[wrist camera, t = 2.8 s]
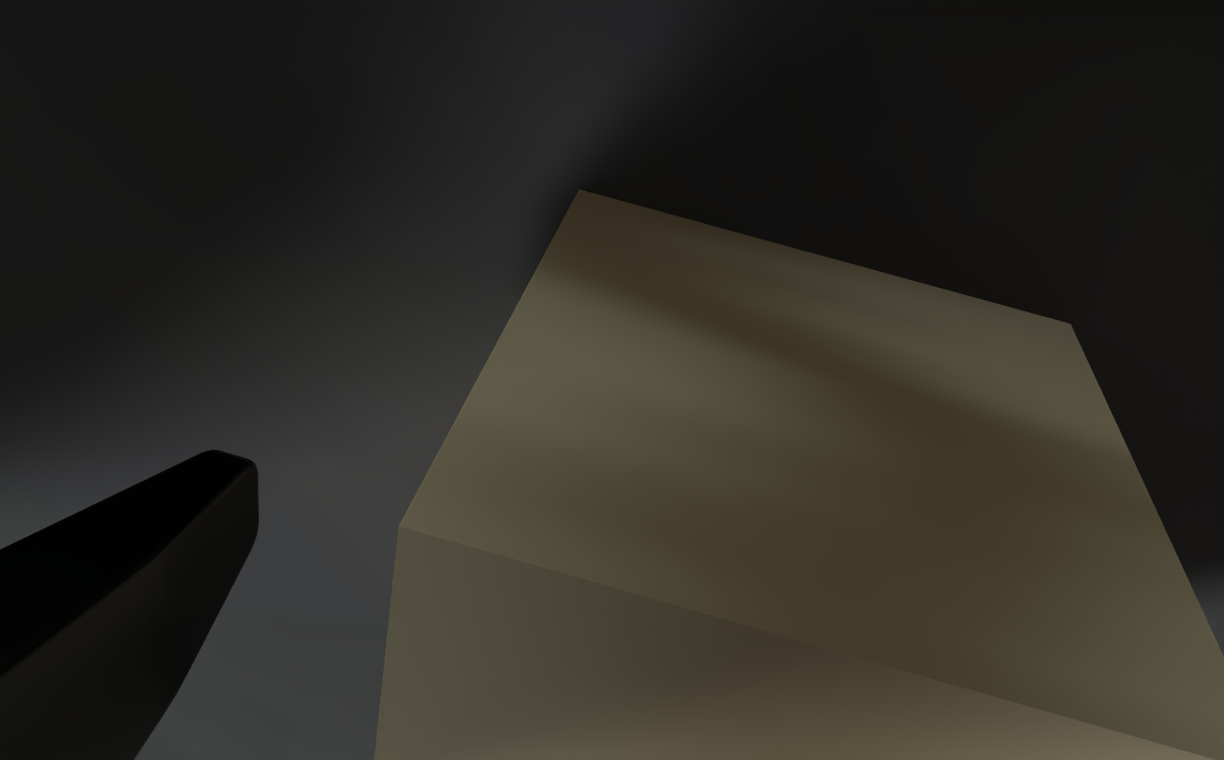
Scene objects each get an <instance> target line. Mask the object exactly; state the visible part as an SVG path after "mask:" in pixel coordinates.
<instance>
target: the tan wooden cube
mask: <svg viewBox="0 0 1224 760" xmlns="http://www.w3.org/2000/svg"><path fill="white" fill-rule="evenodd" d="M374 760H1224V656H1223V654H1222V652H1221V650H1220V648H1219V645H1218V643H1217V641H1216V639H1215V637H1214V635H1213V632H1212V630H1211V628H1210V626H1209V624H1208V622H1207V619H1206V617H1205V615H1204V613H1203V611H1202V608H1201V606H1200V604H1199V602H1198V600H1197V598H1196V595H1195V593H1194V591H1193V589H1192V587H1191V585H1190V582H1189V580H1188V578H1187V576H1186V574H1185V572H1184V569H1183V567H1182V565H1181V563H1180V561H1179V558H1178V556H1177V554H1176V552H1175V550H1174V548H1173V545H1172V543H1171V541H1170V539H1169V537H1168V535H1167V532H1166V530H1165V528H1164V526H1163V524H1162V522H1161V519H1160V517H1159V515H1158V513H1157V511H1156V508H1155V506H1154V504H1153V502H1152V500H1151V498H1150V495H1149V493H1148V491H1147V489H1146V487H1145V485H1144V482H1143V480H1142V478H1141V476H1140V474H1139V472H1138V469H1137V467H1136V465H1135V463H1134V461H1133V459H1132V456H1131V454H1130V452H1129V450H1128V448H1127V445H1126V443H1125V441H1124V439H1123V437H1122V435H1121V432H1120V430H1119V428H1118V426H1117V424H1116V422H1115V419H1114V417H1113V415H1112V413H1111V411H1110V409H1109V406H1108V404H1107V402H1106V400H1105V398H1104V395H1103V393H1102V391H1101V389H1100V387H1099V385H1098V382H1097V380H1096V378H1095V376H1094V374H1093V372H1092V369H1091V367H1090V365H1089V363H1088V361H1087V359H1086V356H1085V354H1084V352H1083V350H1082V348H1081V345H1080V343H1079V341H1078V339H1077V337H1076V335H1075V332H1074V330H1073V328H1072V326H1071V324H1069V323H1066V322H1062V321H1058V320H1055V319H1051V318H1047V317H1044V316H1040V315H1036V314H1033V313H1029V312H1025V311H1022V310H1018V309H1014V308H1011V307H1007V306H1004V305H1000V304H996V303H993V302H989V301H985V300H982V299H978V298H974V297H971V296H967V295H963V294H960V293H956V292H952V291H949V290H945V289H941V288H938V287H934V286H930V285H927V284H923V283H920V282H916V281H912V280H909V279H905V278H901V277H898V276H894V275H890V274H887V273H883V272H879V271H876V270H872V269H868V268H865V267H861V266H857V265H854V264H850V263H847V262H843V261H839V260H836V259H832V258H828V257H825V256H821V255H817V254H814V253H810V252H806V251H803V250H799V249H795V248H792V247H788V246H784V245H781V244H777V243H773V242H770V241H766V240H763V239H759V238H755V237H752V236H748V235H744V234H741V233H737V232H733V231H730V230H726V229H722V228H719V227H715V226H711V225H708V224H704V223H700V222H697V221H693V220H690V219H686V218H682V217H679V216H675V215H671V214H668V213H664V212H660V211H657V210H653V209H649V208H646V207H642V206H638V205H635V204H631V203H627V202H624V201H620V200H616V199H613V198H609V197H606V196H602V195H598V194H595V193H591V192H587V191H584V190H580V189H579V190H578V192H577V194H576V196H575V198H574V200H573V202H572V203H571V205H570V207H569V209H568V211H567V213H566V215H565V217H564V218H563V220H562V222H561V224H560V226H559V228H558V230H557V231H556V233H555V235H554V237H553V239H552V241H551V243H550V245H549V246H548V248H547V250H546V252H545V254H544V256H543V258H542V259H541V261H540V263H539V265H538V267H537V269H536V271H535V272H534V274H533V276H532V278H531V280H530V282H529V284H528V286H527V287H526V289H525V291H524V293H523V295H522V297H521V299H520V300H519V302H518V304H517V306H516V308H515V310H514V312H513V314H512V315H511V317H510V319H509V321H508V323H507V325H506V327H505V328H504V330H503V332H502V334H501V336H500V338H499V340H498V342H497V343H496V345H495V347H494V349H493V351H492V353H491V355H490V356H489V358H488V360H487V362H486V364H485V366H484V368H483V370H482V371H481V373H480V375H479V377H478V379H477V381H476V383H475V384H474V386H473V388H472V390H471V392H470V394H469V396H468V398H467V399H466V401H465V403H464V405H463V407H462V409H461V411H460V412H459V414H458V416H457V418H456V420H455V422H454V424H453V426H452V427H451V429H450V431H449V433H448V435H447V437H446V439H445V440H444V442H443V444H442V446H441V448H440V450H439V452H438V454H437V455H436V457H435V459H434V461H433V463H432V465H431V467H430V468H429V470H428V472H427V474H426V476H425V478H424V480H423V482H422V483H421V485H420V487H419V489H418V491H417V493H416V495H415V496H414V498H413V500H412V502H411V504H410V506H409V508H408V509H407V511H406V513H405V515H404V517H403V519H402V521H401V523H400V524H399V527H398V537H397V546H396V556H395V565H394V575H393V585H392V594H391V604H390V613H389V623H388V633H387V642H386V652H385V661H384V671H383V681H382V690H381V700H380V709H379V719H378V729H377V738H376V748H375V757H374Z"/></svg>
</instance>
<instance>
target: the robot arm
mask: <svg viewBox="0 0 1224 760" xmlns="http://www.w3.org/2000/svg"><path fill="white" fill-rule="evenodd" d="M258 526H259V502H258V471H257V467H256V465H255V463H254V462H253V461H251V460H250V459H247V458H244V457H240V456H237V455H233V454H230V453H226V452H223V451H219V450H209V451H205V452H202V453H200V454H198V455H196V456H194V457H192V458H189V459H187V460H185V461H183V462H181V463H179V464H177V465H175V466H173V467H171V468H169V469H167V470H165V471H162V472H160V473H158V474H156V475H154V476H152V477H150V478H148V479H146V480H144V481H142V482H140V483H137V484H135V485H133V486H131V487H129V488H127V489H125V490H123V491H121V492H119V493H117V494H115V495H113V496H110V497H108V498H106V499H104V500H102V501H100V502H98V503H96V504H94V505H92V506H90V507H88V508H85V509H83V510H81V511H79V512H77V513H75V514H73V515H71V516H69V517H67V518H65V519H63V520H61V521H58V522H56V523H54V524H52V525H50V526H48V527H46V528H44V529H42V530H40V531H38V532H36V533H33V534H31V535H29V536H27V537H25V538H23V539H21V540H19V541H17V542H15V543H13V544H11V545H9V546H6V547H4V548H2V549H0V760H134V759H135V757H136V756H137V754H138V753H139V751H140V750H141V748H142V747H143V745H144V744H145V742H146V741H147V739H148V738H149V736H150V735H151V733H152V732H153V730H154V729H155V727H156V726H157V724H158V723H159V721H160V720H161V718H162V716H163V715H164V713H165V712H166V710H167V708H168V707H169V705H170V704H171V702H172V700H173V699H174V697H175V696H176V694H177V692H178V690H179V688H180V687H181V685H182V683H183V681H184V679H185V677H186V676H187V674H188V672H189V670H190V668H191V666H192V664H193V662H194V660H195V658H196V656H197V654H198V653H199V651H200V649H201V647H202V645H203V643H204V641H205V639H206V637H207V635H208V633H209V631H210V629H211V627H212V625H213V623H214V621H215V619H216V618H217V616H218V614H219V612H220V610H221V608H222V606H223V604H224V602H225V600H226V598H227V596H228V594H229V592H230V590H231V588H232V586H233V584H234V582H235V581H236V579H237V577H238V575H239V573H240V571H241V569H242V567H243V565H244V563H245V561H246V559H247V557H248V555H249V553H250V551H251V549H252V547H253V545H254V542H255V539H256V536H257V532H258Z"/></svg>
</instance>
